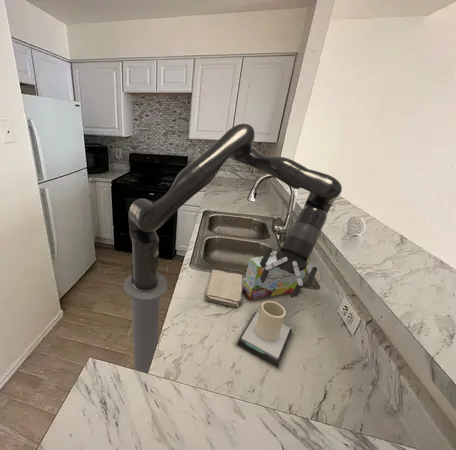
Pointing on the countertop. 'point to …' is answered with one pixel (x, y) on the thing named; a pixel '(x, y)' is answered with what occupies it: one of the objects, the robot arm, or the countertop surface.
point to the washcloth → (225, 288)
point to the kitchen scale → (264, 342)
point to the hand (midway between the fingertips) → (276, 289)
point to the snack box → (268, 280)
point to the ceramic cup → (270, 320)
